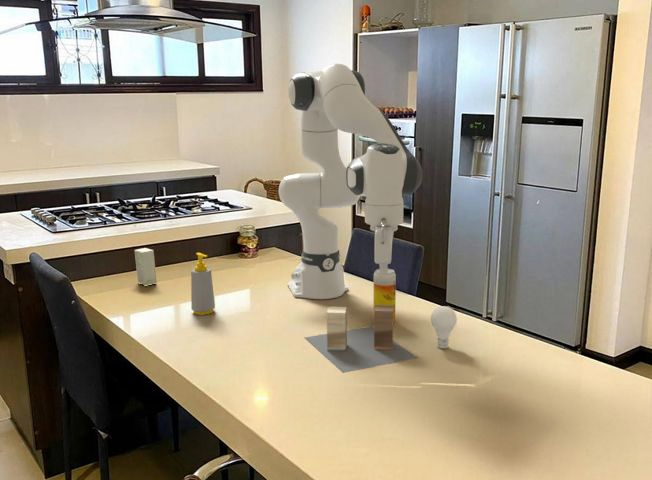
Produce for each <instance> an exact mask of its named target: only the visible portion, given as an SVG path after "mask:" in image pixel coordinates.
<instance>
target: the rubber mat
mask: <svg viewBox="0 0 652 480" xmlns="http://www.w3.org/2000/svg"><path fill="white" fill-rule="evenodd" d="M304 339H305V340H306V341H307V342H308V343H309V344H310V345H311V346H312V347H314V349H316V350H317V351H318V352H319V353H320V354H321V355H323V357H324V358H326V359H327V360H328V361H329V362H330V363H331V364H332V365H334V366H335V368H337V369H338V370H339V371H340V372H341V373H342V374H343V373H349V372H354V371H359V370H364V369H368V368H374V367H379V366H384V365H388V364H389V365H390V364H393V363H394V364H395V363H399V362H404V361H409V360H414V359H419V357H418V356H417V355H415V354H414V353H412V352H411V351H409V350H408V349H406V348H404V347H403V346H401V345H400V344H398V342H396V341H394V340H393V350H382V349H374V326H372V325H370V326H365V327H364V326H363V327H359V328H354V329H353V328H352V329H347V347H346V352H345V351H327V333H324V334H317V335H312V336H306V337H304Z"/></svg>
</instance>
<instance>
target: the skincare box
mask: <svg viewBox="0 0 652 480" xmlns="http://www.w3.org/2000/svg"><path fill="white" fill-rule="evenodd" d="M154 252H155V251H154V249H150V248H147V247H144V248H143V247H142V248H138V249H134V256H135V257H134V258H135V266H136V267H135V269H136V278H137V283H138V282H140V283H142V284H144V285H148V284H153V283H157V271H156V263H155V261H156V260H155V253H154ZM157 284H158V283H157Z"/></svg>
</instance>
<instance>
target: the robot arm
mask: <svg viewBox="0 0 652 480" xmlns="http://www.w3.org/2000/svg"><path fill="white" fill-rule="evenodd" d="M365 84H366V83H365V79H364V77H363V75H362V74H361V72H359V71H357V70H351V69H350V68H349V67H348V66H347V65H345V64H343V63H333V64H330V65H328V66H326V67H324V68H323V70H318V71H317V70H316V71H310V72H309V71H308V72H305V71H303V72H299V73H296V74H294V75H293V76H292V77H291V78H290V80H289V85H288V89H287V92H288V99H289V102H290V104H291V106H292V107H293V108H294V109H295V110H298V111H301V118H300V123H301V124H300V125H301V126H300V128H301V129H300V133H301V136H300V137H301V141H300V142H301V153H302V155H303V156H304V158H305V159H306V160H308V161H310V162H311V163H312V164H315V165H318V166H319V167H320V168H321V169H322V170H321V172H303V173H301V172H300V173H293V174H290V175H285V176H284V177H283V178H282V179H281V180H280V183H279V186H278V197H279V199H280V201H281V202H282V204H283V205H284V206H285V207H287V208H288V209H289V210H291V211H292V212H293V214H294V215H295V216H296V217H297V219H298V220H299V223H300V226H301V231H302V241H303V250H301V251H302V252H301V257H300V258H301V259H300V261H301V262H300V263H299V264H298V265H297V266H296V267H295V268H294V270H293V271H294V272H291V274H290V275H291V276H290V277H291V280H290V281H288V282H287V286H289V287H288V288H290V289H289V290H290V292H291V294H292V295H293V297H295V298H305V299H310V300H311V299H313V300H329V299H334V298H339V297H340V296H343V295H344V293H345V292H346V291H349V287H348V285H345V275H344V273H345V272H344V266H343V265H342V264H341V263H340V260H341V259H340V257H341V254H340V253H341V252H340V250H339V228H338V226H337V224H336V223H335V222H333V221H332V220H331V219H328V218H326V217H324V216H322V215H321V214H320V213H319V212H318V209H329V208H330V209H333V208H334V209H335V208H344V207H345V208H346V207H350V206H354V205H356V204H357V203H358V201H359V199H360V198H361V197H365V200H364V201H365V202H364V223H366V225H370V227H369V230H370V231H372V232H374V263H375V264H376V265H379V269H380V274H381V275H386V274H387V270H388V269H389V267H388V265H390V264H391V263H392V250H393V240H394V234H395V233H394V232H397V230H399V228H398V225H402V224H403V223H404V198H403V196H406V197H407V196H409V197H410V196H412V194H414V193H415V192H416V190H417V189H419V187H420V186H421V184H422V182H423V177H424V176H423V175H424V174H423V169H422V165H421V163H420V162H419V161H418V159H417V158H416V157H415V155H413V153H412V152H411V151H410V150H409V149H408V147H407V146H406V144H405V143H404V141H403V140H402V138H401V136H400V134H399V132H398V131H397V130H396V127H394V125H393V123H392V122H391V121H390V119H389V117H388V115H386V113H385V112H384V111H382V110H381V109H379V108H378V107H376V106H375V105H374V104H373V103H372V102H371V101H369V99H368V98H367V97H366V95H365V94H366V85H365ZM338 131H341V132H344V133H348V134H355V135H359V136H363V137H366V138H369V139H371V140H373V141H374V142H376V143H374V144H371V145H369V146H368V147H367V149H366V152H365V153H364V154H363V155H361V156H358V157H355V158H353V159H352V160H351V161H350V162H349V164H348V165H347V167H346V166H345V164H344V162H343V160H342V159H341V155H340V151H339V139H338V138H339V137H338V133H339V132H338Z"/></svg>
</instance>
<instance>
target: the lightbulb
mask: <svg viewBox="0 0 652 480" xmlns="http://www.w3.org/2000/svg"><path fill="white" fill-rule="evenodd" d="M457 321H458V318H457V314H456V312H455V311H454V310H453V308H451V307H449V306H446V305H443V306H437V307H436V308H434V309H433V311H432V313H431V314H430V323H431V326H432V327H433V329H434V330H435V333H436V337H437V347H438V348H439V349H442V350H445V349H448V348H449V338H450V337H451V333H452V330H454V329H455V327H456V325H457Z"/></svg>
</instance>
